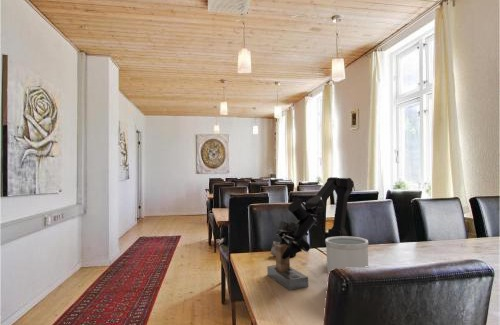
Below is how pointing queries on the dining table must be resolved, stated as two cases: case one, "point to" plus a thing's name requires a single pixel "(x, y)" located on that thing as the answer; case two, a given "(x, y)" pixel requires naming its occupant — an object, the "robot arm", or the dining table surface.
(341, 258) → the utensil holder
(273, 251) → the caster wheel
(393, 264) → the dining table surface
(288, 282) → the grey peg hole block
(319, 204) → the robot arm
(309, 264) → the dining table surface
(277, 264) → the walnut peg
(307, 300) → the dining table surface
